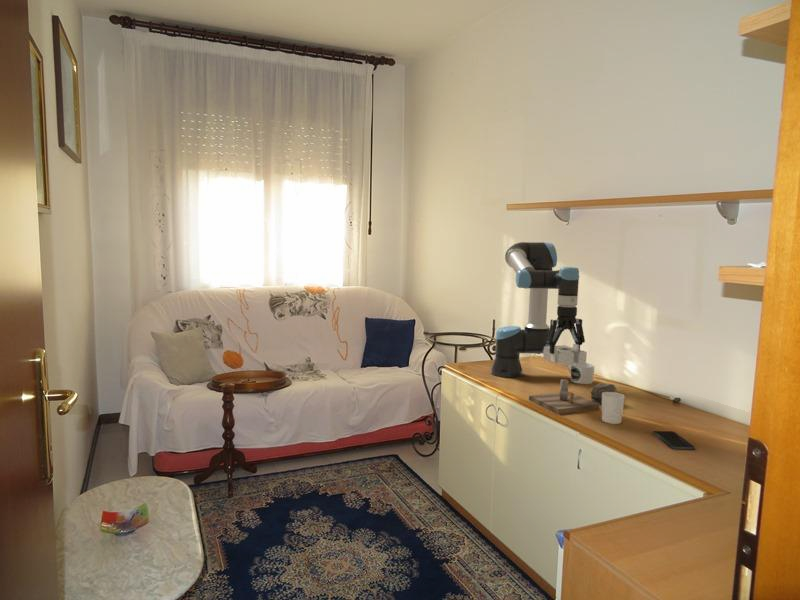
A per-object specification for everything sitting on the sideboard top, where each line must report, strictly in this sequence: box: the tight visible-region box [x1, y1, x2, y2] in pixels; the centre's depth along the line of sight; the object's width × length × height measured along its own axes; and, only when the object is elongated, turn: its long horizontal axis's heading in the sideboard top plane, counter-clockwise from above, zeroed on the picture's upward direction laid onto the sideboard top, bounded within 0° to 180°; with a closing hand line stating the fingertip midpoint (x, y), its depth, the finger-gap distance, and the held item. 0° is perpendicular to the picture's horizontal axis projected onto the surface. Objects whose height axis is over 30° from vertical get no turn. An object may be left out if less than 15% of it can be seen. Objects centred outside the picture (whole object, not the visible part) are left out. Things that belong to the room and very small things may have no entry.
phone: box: [652, 430, 695, 451], centre depth 186 cm, size 8×1×15 cm
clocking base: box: [528, 379, 601, 415], centre depth 224 cm, size 19×20×10 cm
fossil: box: [590, 382, 618, 406], centre depth 229 cm, size 11×9×10 cm
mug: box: [566, 362, 595, 385], centre depth 262 cm, size 13×10×8 cm
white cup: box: [601, 392, 626, 425], centre depth 205 cm, size 8×8×10 cm
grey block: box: [542, 344, 587, 367], centre depth 223 cm, size 14×10×5 cm
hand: (564, 360), depth 223 cm, fingers closed on grey block, 10 cm apart
